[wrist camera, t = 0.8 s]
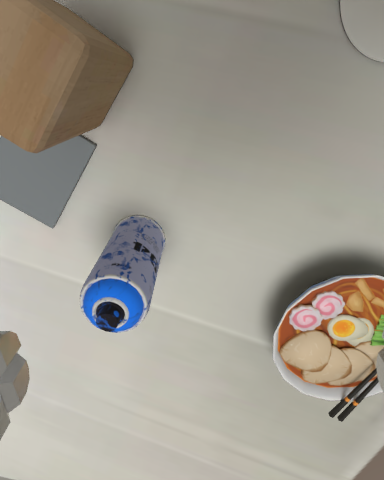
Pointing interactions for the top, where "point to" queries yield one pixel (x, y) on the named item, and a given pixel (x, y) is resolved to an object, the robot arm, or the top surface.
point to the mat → (42, 176)
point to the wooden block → (54, 74)
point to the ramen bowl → (333, 340)
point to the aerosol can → (124, 276)
